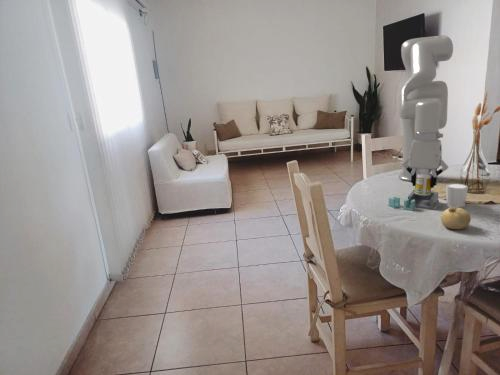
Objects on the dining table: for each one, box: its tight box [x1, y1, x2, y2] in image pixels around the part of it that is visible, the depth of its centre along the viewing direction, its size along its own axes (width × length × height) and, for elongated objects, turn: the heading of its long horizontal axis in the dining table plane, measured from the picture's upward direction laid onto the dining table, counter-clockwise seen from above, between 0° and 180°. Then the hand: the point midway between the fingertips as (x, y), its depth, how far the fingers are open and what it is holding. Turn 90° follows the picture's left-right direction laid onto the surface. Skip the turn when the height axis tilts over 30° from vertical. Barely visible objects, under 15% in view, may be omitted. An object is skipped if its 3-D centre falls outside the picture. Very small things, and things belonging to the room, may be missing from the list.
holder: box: [407, 189, 439, 211], centre depth 131 cm, size 9×9×4 cm
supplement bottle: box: [414, 168, 433, 196], centre depth 129 cm, size 5×5×10 cm
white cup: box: [445, 183, 469, 208], centre depth 127 cm, size 7×7×7 cm
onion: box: [440, 206, 471, 230], centre depth 110 cm, size 8×8×7 cm
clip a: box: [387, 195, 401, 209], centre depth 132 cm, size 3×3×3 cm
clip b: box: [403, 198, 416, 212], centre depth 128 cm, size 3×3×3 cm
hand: (423, 185), depth 129 cm, fingers closed on supplement bottle, 5 cm apart
